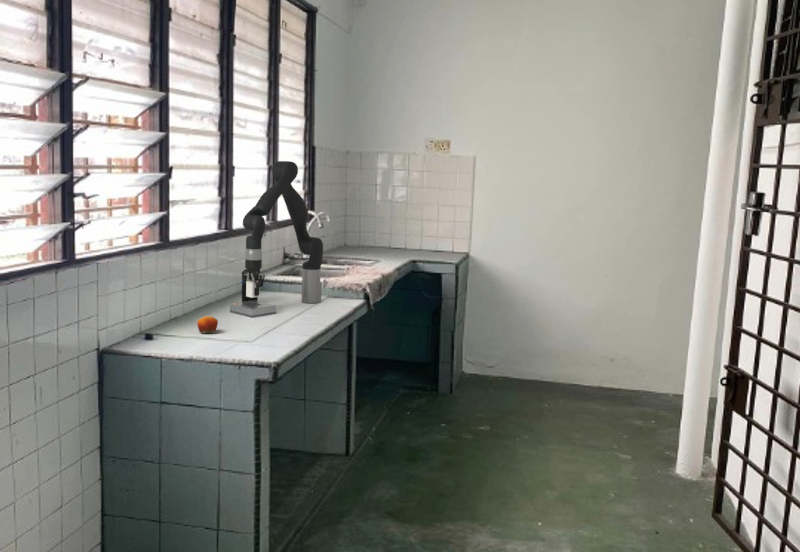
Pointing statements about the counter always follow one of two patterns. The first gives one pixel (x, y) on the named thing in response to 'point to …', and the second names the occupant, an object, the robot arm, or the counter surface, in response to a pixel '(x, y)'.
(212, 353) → the counter surface
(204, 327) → the fruit
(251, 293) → the white plain square block
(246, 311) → the socket
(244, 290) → the aerosol can
